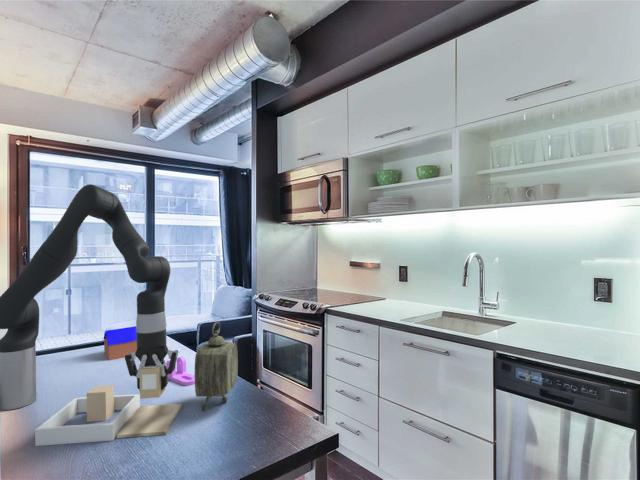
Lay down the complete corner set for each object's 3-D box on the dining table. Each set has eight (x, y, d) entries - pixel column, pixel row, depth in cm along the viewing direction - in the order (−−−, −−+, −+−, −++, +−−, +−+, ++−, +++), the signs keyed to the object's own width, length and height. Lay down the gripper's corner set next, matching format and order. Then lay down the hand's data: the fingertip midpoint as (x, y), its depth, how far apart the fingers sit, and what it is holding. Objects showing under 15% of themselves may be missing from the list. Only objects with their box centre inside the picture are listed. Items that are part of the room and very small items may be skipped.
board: (116, 438, 92) (116, 434, 92) (140, 408, 108) (140, 406, 108) (165, 434, 94) (165, 431, 94) (182, 406, 110) (182, 403, 110)
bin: (35, 445, 89) (35, 429, 89) (75, 411, 107) (75, 397, 107) (112, 440, 91) (112, 424, 91) (139, 407, 109) (139, 394, 109)
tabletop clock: (211, 392, 119) (210, 316, 119) (238, 392, 119) (237, 316, 119) (194, 413, 105) (193, 327, 105) (226, 413, 104) (225, 327, 104)
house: (103, 354, 161) (103, 328, 161) (151, 345, 174) (151, 321, 174) (108, 361, 152) (108, 333, 152) (158, 351, 164) (158, 325, 164)
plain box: (86, 421, 101) (86, 393, 101) (95, 413, 106) (95, 385, 106) (106, 420, 101) (105, 392, 101) (114, 412, 106) (113, 384, 106)
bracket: (166, 378, 132) (166, 359, 132) (180, 374, 136) (180, 355, 136) (187, 387, 124) (187, 367, 124) (201, 382, 128) (201, 362, 128)
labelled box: (139, 399, 98) (139, 368, 98) (146, 391, 103) (145, 362, 103) (159, 397, 99) (158, 367, 99) (164, 389, 104) (164, 361, 104)
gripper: (118, 333, 96) (119, 397, 96) (174, 330, 98) (175, 393, 98) (129, 326, 104) (131, 385, 104) (181, 324, 106) (182, 382, 106)
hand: (152, 388), depth 101 cm, fingers closed on labelled box, 5 cm apart
